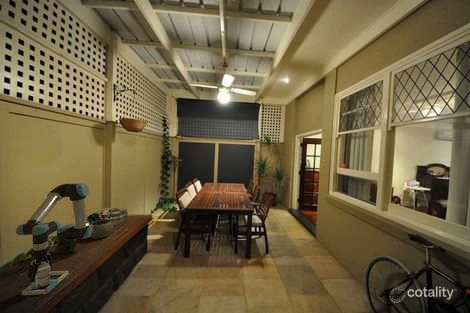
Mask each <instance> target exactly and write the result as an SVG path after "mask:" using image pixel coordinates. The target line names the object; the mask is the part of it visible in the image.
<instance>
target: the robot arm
mask: <svg viewBox="0 0 470 313" xmlns="http://www.w3.org/2000/svg"><path fill="white" fill-rule="evenodd" d="M89 190H90V189H89V186H88V185H87V184H85V183H80V182H79V183H61V184H59V185H57V186H56V187H54V188H53V189H52V190H50V191H49V192H48V194H46V195H47V196H46V198H45V199H44V200H43V202H42V203H41V204H40V206H39V207H38V208H36V210H35V211H34V213H33V214H32V215H31V217H30V218H29V219H28V221H26V223H21V224H19V225H18V226H17V227H16V229H15V233H16V235H18V236H32V256H33V257H34V258H33V260H30V262H28V263H29V266H28V272H27V278H26V279H30V283H31V282H32V286H37V276H36V274H37V271H38V268H39V265H42V264H41V262H46V263H48V260H49V265H50V267H52V266H53V263H54V261H53V257H52V250H49V246H50V245H49V236H50V235H52V234H54V233H56V246H55V248H54V252H53V253H54V255H55V256H60V255H66V254H69V253H72V252H74V251H75V250H76V249H77V245H76V243H75V241H74V240H80V239H88V238H90V235H91V234H92V231H93V225H90V224H91V222H89V221H88V215H87V209H86V201H85V199H86V198H87V196H88V195H89V192H90V191H89ZM64 198H68V199H69V201H70V202H72V209H73V215H74V222H75V224H74V223H68V224H64V225H62V224H61V222H60V221H59V220H52V221H50V222H44V221H45V219H46V217H48V215H49V214H50V212H51V211H52V210H53V208H54V207H55V205H56V204H57V203H58V202H59V201H61V200H62V199H64ZM37 263H39V264H37Z"/></svg>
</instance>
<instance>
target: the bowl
mask: <svg viewBox="0 0 470 313" xmlns="http://www.w3.org/2000/svg"><path fill="white" fill-rule="evenodd" d="M90 225H93V231H92V234H91V235H90V237H89V238H91V239H93V240H96V239H97V240H98V239H102V238H106V237H107V236H109V235H110V234H111V233H112V231H113V230H114V229H113V228H114V226H113V221H112V220H110V219H101V220H95V221H92V222H90Z"/></svg>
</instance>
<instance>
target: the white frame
mask: <svg viewBox="0 0 470 313" xmlns="http://www.w3.org/2000/svg"><path fill="white" fill-rule="evenodd" d="M68 275H69V270H57V271H56V270H55V271H54V270H53V271H51V270H50V276H59V277H58V278H56V279H50V284H48V285H47V287H45V289H34V290H32V288H31V284H30V285H28V286H27V287H26V288H25V289H23V290H22V291H21V296H32V295H33V296H34V295H35V296H36V295H46V294H48V293H49V292H51V291H52V290H53V289H54V288H55V287H57V286H58V284H59V283H60V282H61V281H62V280H63V279H64V278H66V277H67V276H68Z"/></svg>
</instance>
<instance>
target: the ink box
mask: <svg viewBox="0 0 470 313" xmlns="http://www.w3.org/2000/svg"><path fill="white" fill-rule="evenodd" d="M36 264H39V263H36ZM50 272H51V266H50V265H49V260H48V263H46V262H43V261H42V262H41V264H40V265H39V268H38V271H37V274H36V276H37V286H32V282H31V281H30V285H31V288H32V289H31V290H38V289H39V288H42V287H45V286H49V285H50V280H51V275H50Z"/></svg>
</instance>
